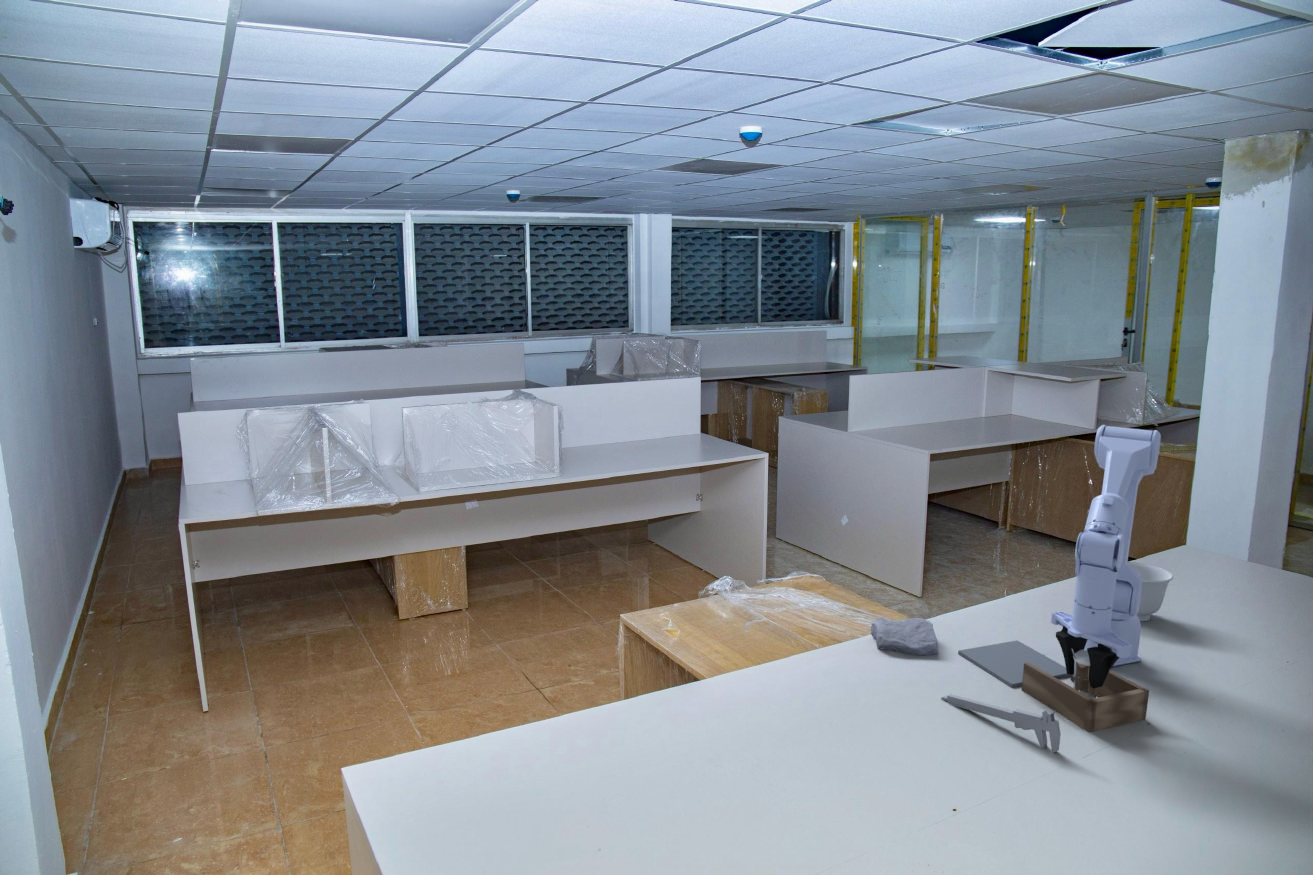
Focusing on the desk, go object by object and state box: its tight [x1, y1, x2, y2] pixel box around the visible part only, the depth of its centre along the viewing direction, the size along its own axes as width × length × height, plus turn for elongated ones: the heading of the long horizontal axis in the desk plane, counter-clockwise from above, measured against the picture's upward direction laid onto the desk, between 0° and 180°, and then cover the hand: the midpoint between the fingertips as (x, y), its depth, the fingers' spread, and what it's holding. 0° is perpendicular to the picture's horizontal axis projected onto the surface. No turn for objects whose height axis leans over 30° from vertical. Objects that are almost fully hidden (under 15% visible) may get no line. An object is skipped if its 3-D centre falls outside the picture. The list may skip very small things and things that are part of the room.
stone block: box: [870, 617, 939, 656], centre depth 166 cm, size 12×5×10 cm
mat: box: [957, 640, 1071, 688], centre depth 158 cm, size 14×14×1 cm
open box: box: [1020, 662, 1150, 733], centre depth 143 cm, size 12×14×5 cm
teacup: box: [1116, 561, 1174, 622], centre depth 181 cm, size 12×15×10 cm
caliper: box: [940, 693, 1061, 754], centre depth 137 cm, size 20×1×6 cm, turn 36°
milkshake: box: [1071, 648, 1098, 699], centre depth 143 cm, size 4×5×10 cm
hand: (1084, 679), depth 143 cm, fingers closed on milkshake, 4 cm apart
